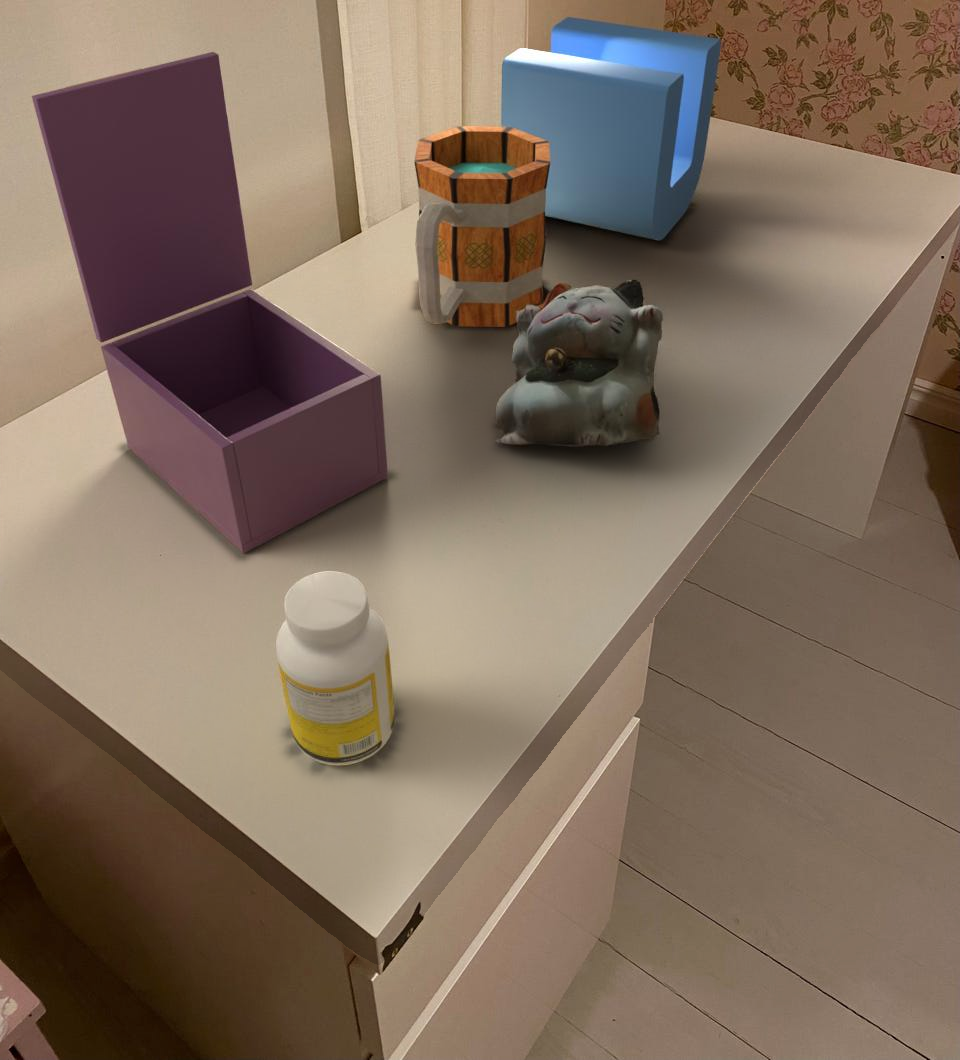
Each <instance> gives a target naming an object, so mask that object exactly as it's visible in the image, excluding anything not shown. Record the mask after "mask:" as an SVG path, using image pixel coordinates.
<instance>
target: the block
mask: <svg viewBox="0 0 960 1060" xmlns="http://www.w3.org/2000/svg"><path fill="white" fill-rule="evenodd" d="M550 35H551V36H550V51H542V50H537V49H529V48H523V47H520V48H518V49H517V50H515V51H514V52H512V53H511V54H509V55H508V56H506V57H504V59H503V61H502V64H501V92H500V93H501V94H500V96H501V97H500V99H501V100H500V127H512V128H515V129H518V130H520V131H523V132H525V133H528V134H530V135H533V136H536V137H538V138H541V139H543V140H546V141H549V149H550V169H549V175H548V181H547V187H546V204H545V217H548V218H553V219H558V220H562V221H567V222H572V223H576V224H580V225H584V226H590V227H595V228H600V229H603V230H609V231H613V232H617V233H621V234H627V235H630V236H631V235H632V236H635V237H636V236H637V237H641V238H645V239H649V240H653V241H654V240H655V241H662V240H663V239H664V238H665V237H666V236H667V235H668V234H669V233H670V231H671V230H672V229H673V228H674V227H675V226H676V224H677V223H678V222H679V221H680V220H681V218H682V217H683V216H684V214H685V213H686V212H687V210H688V208H689V207H690V204H691V202H692V200H693V198H694V195H695V193H696V190H697V187H698V183H699V180H700V177H701V174H702V170H703V165H704V160H705V156H706V151H707V142H708V137H709V129H710V122H711V115H712V110H713V103H714V95H715V88H716V82H717V75H718V68H719V62H720V56H721V55H720V54H721V49H722V48H721V47H722V39H721V38H715V37H709V36H703V35H695V34H688V33H681V32H675V31H669V30H661V29H654V28H648V27H641V26H634V25H628V24H627V25H626V24H620V23H614V22H606V21H600V20H593V19H587V18H579V17H572V16H567V17H565V18H564V19H563V20H561V21H560V22H558V23H557V24H555V25H553V27H552V29H551V34H550Z"/></svg>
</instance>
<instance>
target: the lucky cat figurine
mask: <svg viewBox="0 0 960 1060" xmlns="http://www.w3.org/2000/svg"><path fill="white" fill-rule="evenodd" d="M644 302H645V297H644V291H643V287H642V284H641V281H639V280H638V279H637V278H630V279H629V280H626V281H623V282H621V283H619V284H618V285H616V286H614V287H608V286H603V285H601V284H593V285H590V286H582V287H574V288H572V286H571V285H570V284H568V283H565V282H558V281H557V283H555V285H554V286H553V288H552V289H551V290H550V291H549V293H547V295H546V297H545V299H543V301H542V302H540V303H538V304H534V305H527V306H526V308H525V309H523V310H521V311H518V310H517V311H516V313H517V316H516V321H517V322H516V326H517V330H518V337H516V339H515V341H514V343H513V346H512V350H513V351H512V355H511V362H512V363H513V365H514V368H515V379H514V384H512V385H511V386H510V387H508V388H507V390H506V391H505V392H504V393H503V394H502V395H501V396H500V397H499V400H498V401H497V403H496V408H495V416H496V418H495V422H496V423H497V425H498V426H499V427H500V429H501V431H502V432H503V433H502V434H504V435H503V437H501V438H497V439H496V442H497V443H502V444H506V445H513V446H515V445H549V446H564V447H571V448H572V447H573V448H579V447H585V446H607V447H608V446H612V445H621V444H625V443H626V444H627V443H631V442H635V441H641V440H653V439H655V438H657V437H658V436H659V435H660V433H661V432H660V428H659V427H660V425H659V424H660V417H661V412H660V411H661V410H660V404H659V400H658V396H657V393H656V390H655V370H656V363H657V357H658V353H659V352H658V350H659V343H660V341H661V340H662V338H663V337H662V336H663V321H664V316H663V315H664V314H663V311H662V309H660V308H659V307H657V306H655V305H653V304H648V305H644Z"/></svg>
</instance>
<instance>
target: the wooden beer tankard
mask: <svg viewBox="0 0 960 1060" xmlns="http://www.w3.org/2000/svg"><path fill="white" fill-rule="evenodd" d="M414 168H415V169H414V170H415V173H416V175H415V176H416V182H417V187H418V208H419V209H418V210H419V211H418V218H417V220H416V230H415V244H414V246H415V254H416V262H417V275H418V294H419V296H418V297H419V305H420V306H419V307H420V309H421V311H422V314H423V318H424V319H425V321H427V322H428V323H431V324H432V325H442V324H446V323H448V324H450V325H452V326H454V327H478V328H479V327H481V328H482V327H483V328H484V327H485V328H487V327H488V328H508V327H510V326H513V325H514V324H517V321H516V316H517V313H516V311H517V310H518V311H521V310H523V309H525V308H526V306H527V305H534V304H538V303H540V302H542V301H544V289H543V286H544V285H543V268H544V260H545V252H546V244H547V224H546V222H547V221H546V216H545V204H546V187H547V181H548V175H549V169H550V149H549V141H546V140H543V139H541V138H538V137H536V136H533V135H530V134H528V133H525V132H523V131H520V130H518V129H515V128H512V127H501V126H478V125H477V126H474V125H473V126H472V125H471V126H469V125H467V126H466V125H465V126H463V125H461V126H460V125H459V126H455V127H452V128H449V129H446V130H443V131H440V132H438V133H434V134H432V135H429V136H426V137H423V138H420V139H418V140H417V145H416V151H415V156H414Z"/></svg>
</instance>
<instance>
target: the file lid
mask: <svg viewBox="0 0 960 1060" xmlns="http://www.w3.org/2000/svg"><path fill="white" fill-rule="evenodd" d="M220 60H221V59H220V55H219V54H218V53H216V52H215V51H211V52H206V53H202V54H198V55H194V56H191V57H185V58H181V59H178V60H174V61H168V62H165V63H161V64H157V65H153V66H148V67H144V68H138V69H134V70H129V71H126V72H121V73H117V74H114V75H109V76H105V77H100V78H97V79H93V80H92V79H91V80H90V81H89V80H88V81H84V82H80V83H77V84H72V85H68V86H65V87H63V88H60V89H58V88H57V89H54V90H50V91H45V92H42V93H37V94H33V95H31V99H32V102H33V103H32V104H33V106H34V110H35V114H36V118H37V121H38V125H39V129H40V133H41V136H42V137H41V138H42V140H43V144H44V148H45V151H46V155H47V158H48V162H49V166H50V171H51V175H52V177H53V181H54V185H55V188H56V192H57V196H58V200H59V202H60V208H61V211H62V215H63V218H64V223H65V226H66V229H67V230H66V231H67V234H68V237H69V241H70V245H71V248H72V253H73V256H74V260H75V264H76V267H77V271H78V274H79V278H80V283H81V286H82V289H83V294H84V296H85V301H86V305H87V308H88V311H89V315H90V319H91V324H92V327H93V330H94V334H95V338H96V340H97V341H98V342H99V343H104V342H107V341H111V340H112V339H115V338H117V337H120V336H123V335H125V334H128V333H130V332H131V333H132V332H133V331H136V330H139V329H141V328H144V327H146V326H149V325H151V324H154V323H157V322H159V321H162V320H165V319H167V318H170V317H173V316H175V315H178V314H180V313H183V312H185V311H188V310H192V309H193V308H196V307H199V306H202V305H204V304H207V303H209V302H212V301H214V300H217V299H220V298H222V297H226V296H227V295H231V294H233V293H235V292H238V291H241V290H243V289H246V288H248V287H251V286H253V281H252V274H251V273H252V272H251V266H250V260H249V253H248V245H247V237H246V233H245V225H244V217H243V211H242V205H241V197H240V190H239V183H238V177H237V169H236V164H235V157H234V150H233V143H232V136H231V128H230V122H229V115H228V109H227V101H226V95H225V88H224V81H223V75H222V68H221V61H220Z"/></svg>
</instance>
